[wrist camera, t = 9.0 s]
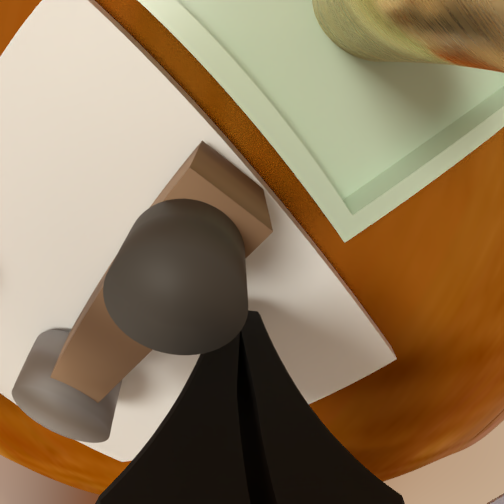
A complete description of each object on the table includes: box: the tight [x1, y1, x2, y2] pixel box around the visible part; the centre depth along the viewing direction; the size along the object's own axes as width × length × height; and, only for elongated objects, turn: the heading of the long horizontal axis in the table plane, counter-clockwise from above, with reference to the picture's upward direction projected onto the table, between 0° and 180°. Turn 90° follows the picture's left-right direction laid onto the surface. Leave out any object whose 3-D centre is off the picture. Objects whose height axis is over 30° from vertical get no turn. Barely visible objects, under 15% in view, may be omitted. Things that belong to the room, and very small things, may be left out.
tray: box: [138, 0, 504, 242], centre depth 6 cm, size 9×9×2 cm
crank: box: [12, 141, 273, 443], centre depth 8 cm, size 13×4×4 cm, turn 138°
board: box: [0, 0, 397, 462], centre depth 12 cm, size 19×22×1 cm
